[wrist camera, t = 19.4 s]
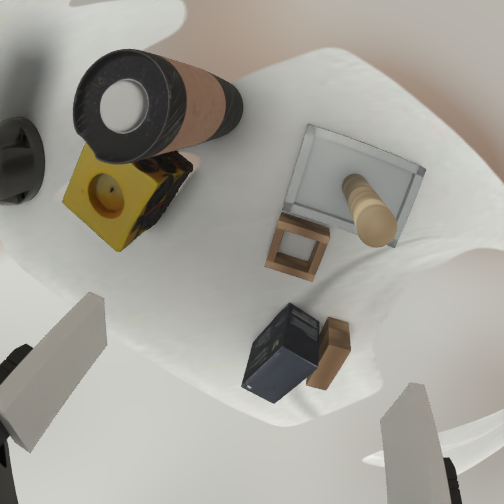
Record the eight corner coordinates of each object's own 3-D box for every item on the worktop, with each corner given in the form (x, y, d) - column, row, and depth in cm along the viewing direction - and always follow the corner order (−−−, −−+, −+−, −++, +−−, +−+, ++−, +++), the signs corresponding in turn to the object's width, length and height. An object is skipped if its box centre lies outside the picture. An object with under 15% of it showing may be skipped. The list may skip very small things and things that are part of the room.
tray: (283, 204, 38) (282, 209, 36) (308, 124, 33) (308, 124, 32) (391, 241, 37) (394, 247, 35) (420, 166, 32) (426, 169, 31)
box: (282, 359, 47) (274, 405, 39) (252, 341, 47) (238, 387, 38) (321, 321, 43) (320, 368, 35) (289, 301, 43) (281, 346, 34)
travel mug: (249, 78, 32) (178, 41, 14) (242, 142, 36) (168, 171, 18) (186, 76, 33) (75, 55, 15) (181, 137, 36) (70, 164, 19)
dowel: (338, 194, 35) (351, 239, 22) (346, 169, 34) (366, 201, 21) (362, 203, 35) (387, 252, 22) (371, 179, 33) (403, 216, 21)
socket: (267, 256, 41) (264, 266, 38) (281, 212, 38) (278, 220, 35) (312, 270, 40) (312, 281, 38) (329, 228, 38) (330, 237, 35)
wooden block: (308, 356, 46) (306, 385, 41) (328, 316, 43) (329, 344, 37) (326, 362, 46) (326, 390, 41) (348, 322, 43) (350, 350, 37)
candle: (138, 119, 37) (91, 125, 28) (197, 165, 38) (161, 181, 29) (104, 181, 41) (58, 200, 32) (157, 224, 42) (118, 255, 33)
